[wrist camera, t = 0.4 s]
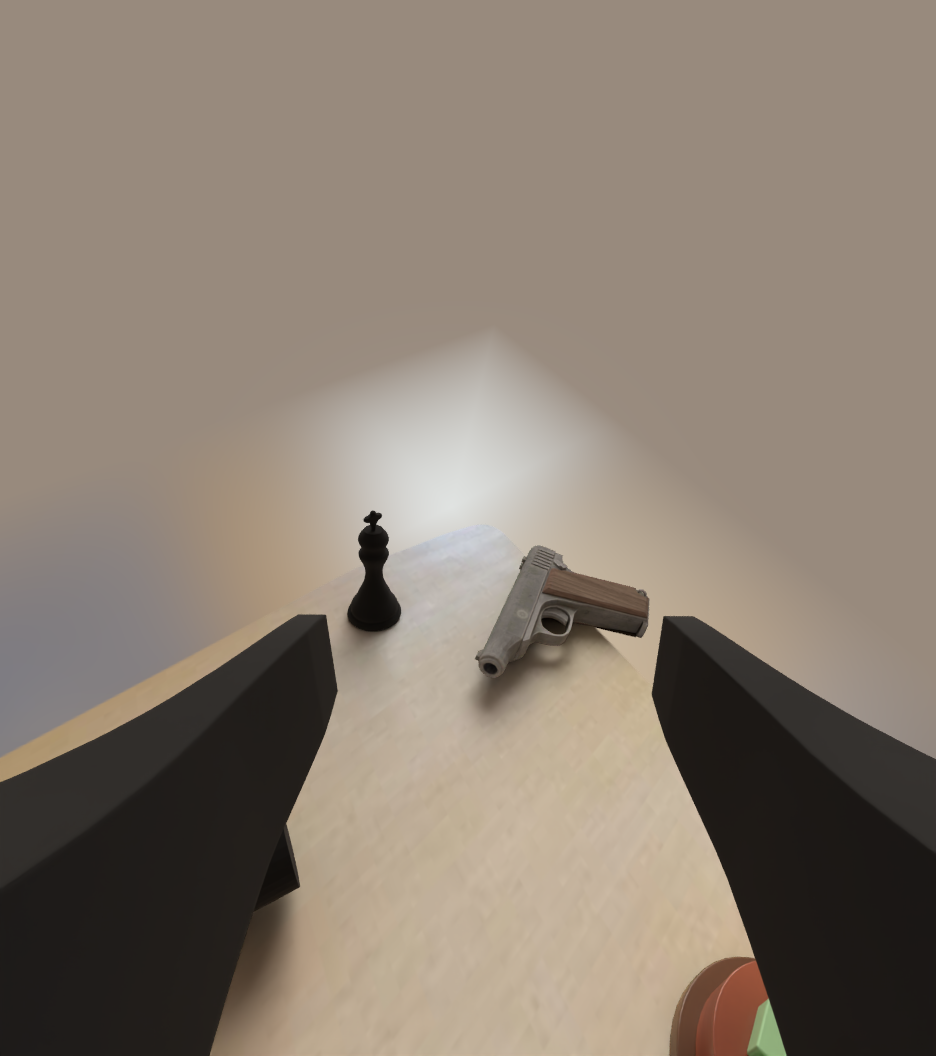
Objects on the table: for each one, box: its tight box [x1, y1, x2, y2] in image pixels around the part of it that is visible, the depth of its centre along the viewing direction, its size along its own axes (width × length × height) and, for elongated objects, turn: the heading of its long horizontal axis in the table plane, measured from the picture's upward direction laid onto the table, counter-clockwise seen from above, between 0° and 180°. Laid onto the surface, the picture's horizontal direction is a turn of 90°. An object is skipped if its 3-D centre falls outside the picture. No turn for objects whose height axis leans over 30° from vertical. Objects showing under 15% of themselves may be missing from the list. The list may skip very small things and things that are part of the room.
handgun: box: [475, 546, 649, 677], centre depth 40 cm, size 3×16×12 cm
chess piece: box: [348, 511, 401, 631], centre depth 38 cm, size 4×4×10 cm
